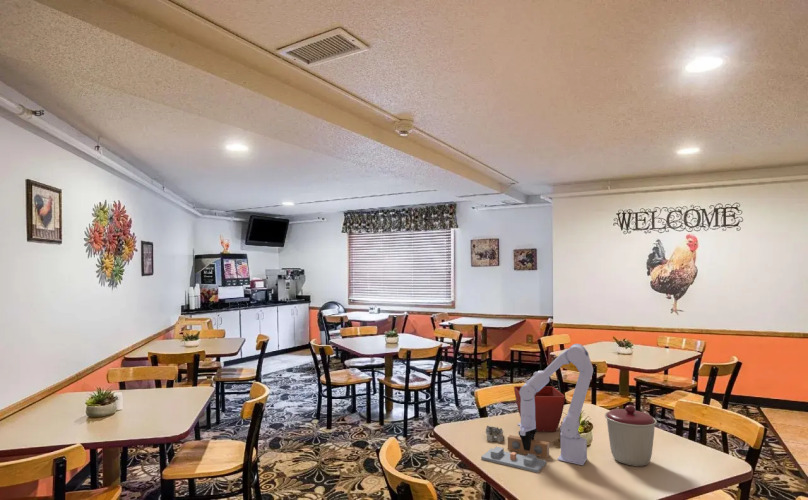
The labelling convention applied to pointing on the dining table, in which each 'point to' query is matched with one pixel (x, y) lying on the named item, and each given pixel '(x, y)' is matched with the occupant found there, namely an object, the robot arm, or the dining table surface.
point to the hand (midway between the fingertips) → (528, 448)
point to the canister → (631, 435)
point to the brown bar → (535, 448)
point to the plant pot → (545, 408)
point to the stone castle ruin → (494, 434)
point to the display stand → (514, 459)
